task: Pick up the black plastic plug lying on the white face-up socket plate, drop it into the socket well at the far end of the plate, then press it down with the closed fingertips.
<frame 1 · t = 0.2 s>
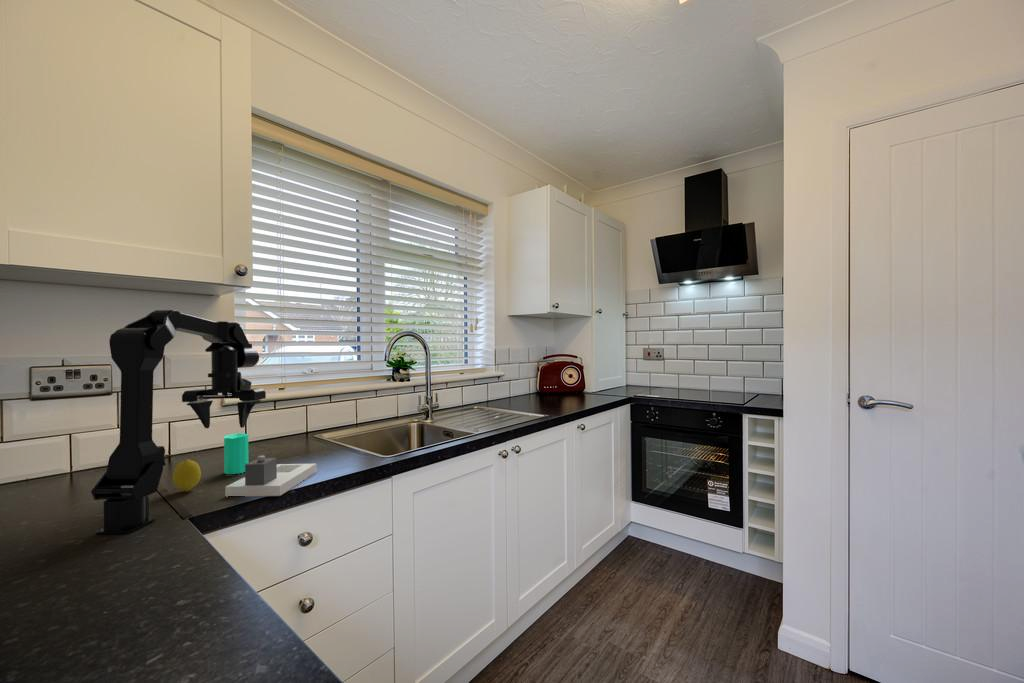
hand: (224, 427, 111), 14 cm above the countertop, tool pointing down, fingers open, 9 cm apart
candle: (236, 472, 120), on the countertop
plug: (261, 481, 104), point 2 cm above the countertop, touching socket plate
lemon: (187, 492, 104), on the countertop
socket plate: (274, 483, 110), on the countertop
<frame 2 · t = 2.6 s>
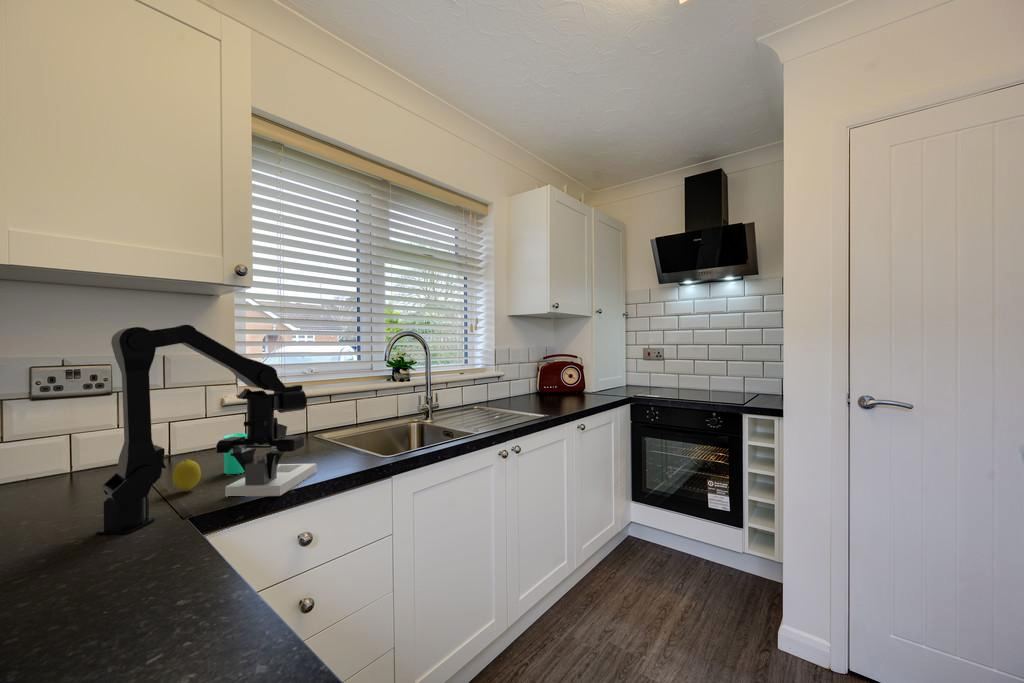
hand: (261, 479, 104), 3 cm above the countertop, tool pointing down, fingers closed on plug, 4 cm apart
plug: (261, 481, 104), point 2 cm above the countertop, touching gripper, socket plate
everything else where it was.
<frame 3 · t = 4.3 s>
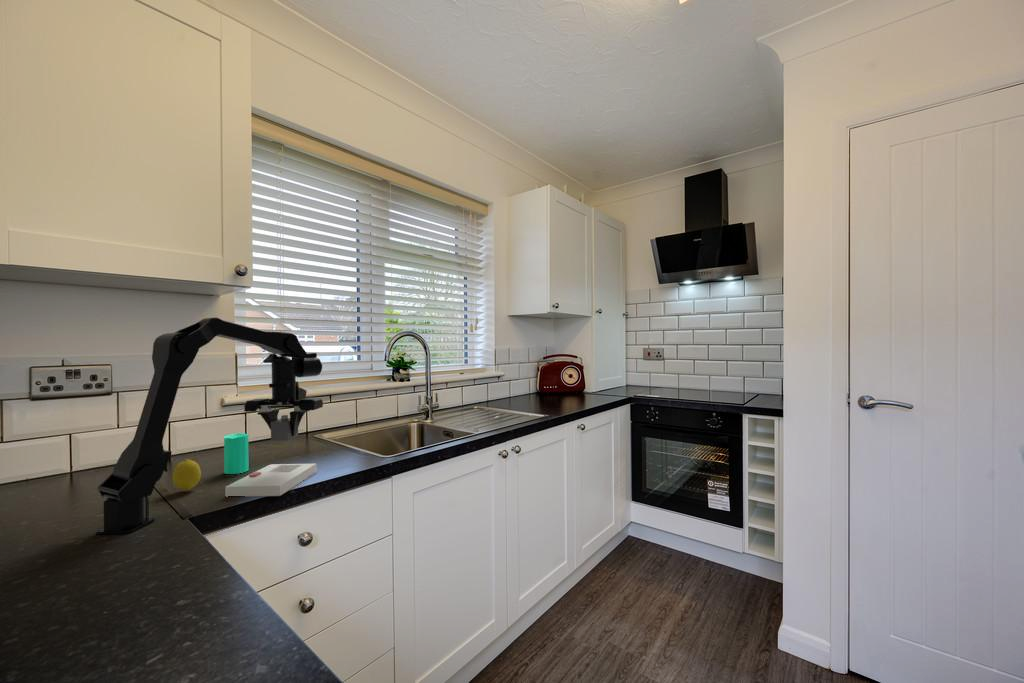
hand: (284, 436, 115), 11 cm above the countertop, tool pointing down, fingers closed on plug, 4 cm apart
plug: (285, 438, 115), point 11 cm above the countertop, touching gripper
everything else where it was.
when the fingers open (4 cm above the countertop, at t = 6.0 s): plug drops 3 cm, resting on socket plate.
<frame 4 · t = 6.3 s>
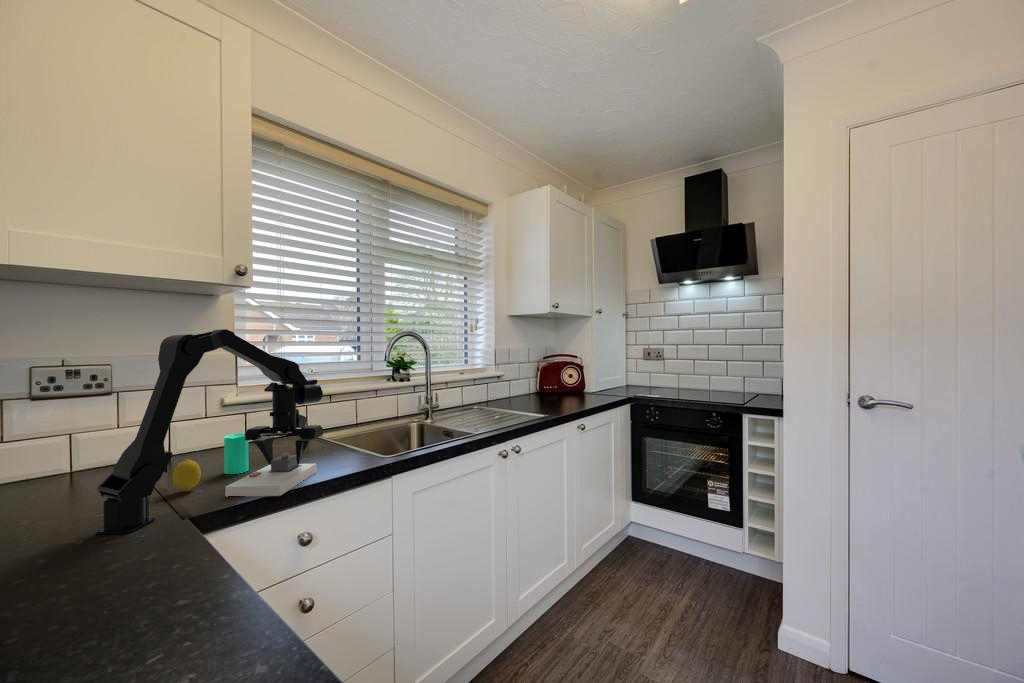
hand: (284, 464, 115), 4 cm above the countertop, tool pointing down, fingers open, 7 cm apart
plug: (285, 475, 115), resting on socket plate
everything else where it was.
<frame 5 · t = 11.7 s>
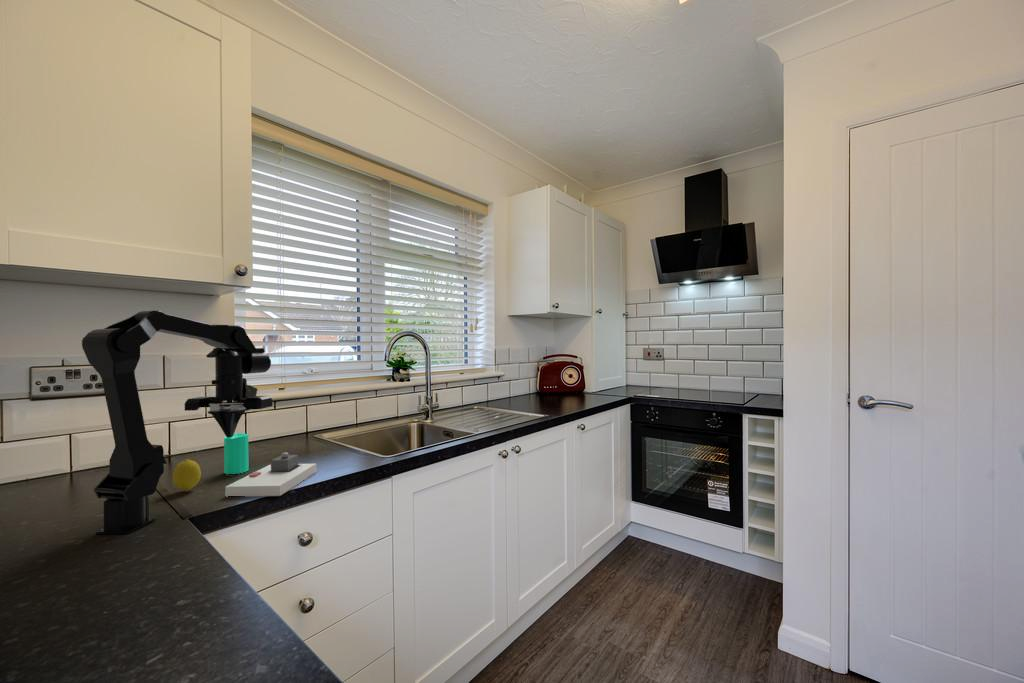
hand: (229, 437, 106), 13 cm above the countertop, tool pointing down, fingers closed
nothing on the countertop moved.
at the end: plug 0.0 cm from the target spot on the socket plate, point 0.4 cm above the socket plate's base; plug tilted 0°; the gripper is holding nothing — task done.
